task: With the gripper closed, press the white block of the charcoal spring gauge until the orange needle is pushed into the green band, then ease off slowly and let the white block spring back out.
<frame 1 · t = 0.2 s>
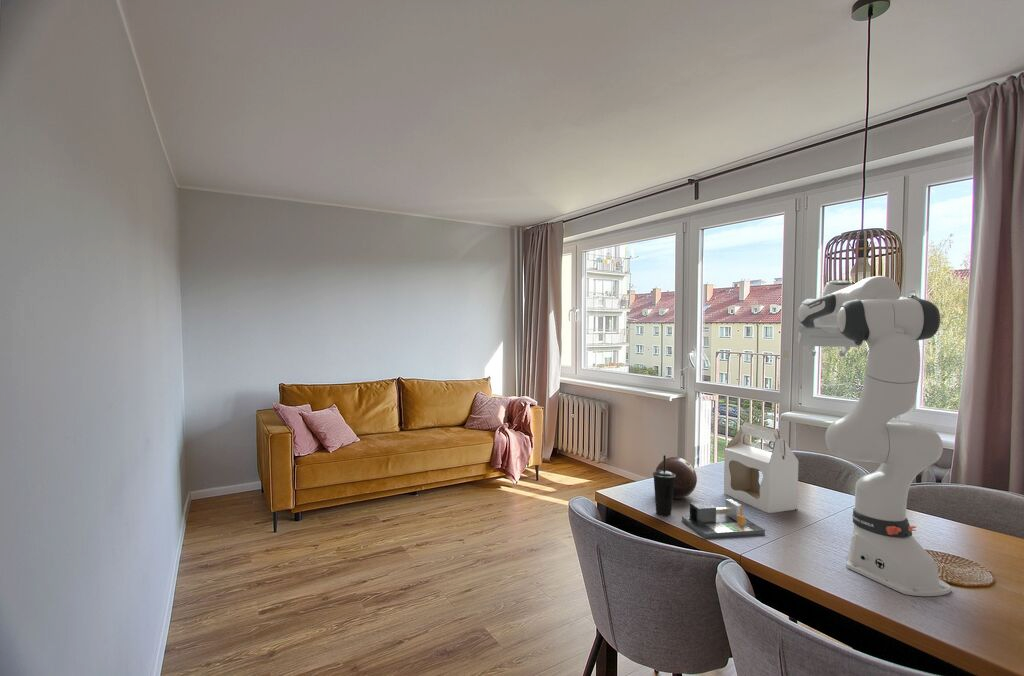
hand: (826, 355, 186), 54 cm above the table, tool tilted 30°, fingers open, 8 cm apart
wooden sphere: (675, 497, 188), on the table
peak needle: (741, 514, 158), point 5 cm above the table, slide at 0.0 cm
gable box: (759, 501, 185), on the table
gauge frame: (722, 527, 160), on the table
drinking cup: (663, 514, 172), on the table
white block: (725, 512, 162), point 4 cm above the table, slide at 0.0 cm
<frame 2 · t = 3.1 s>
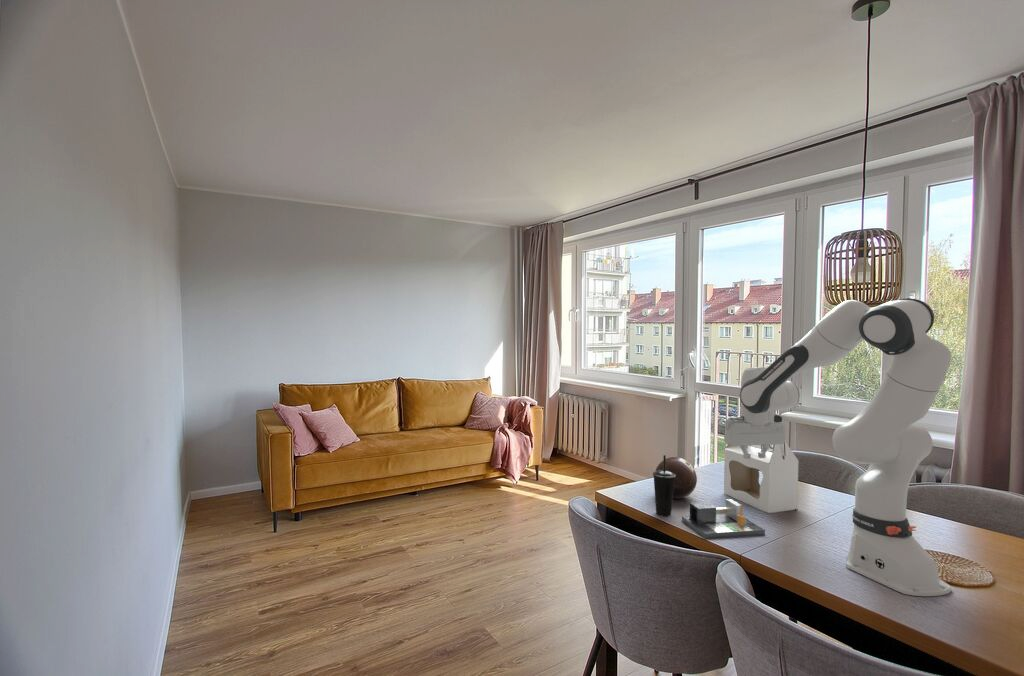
hand: (754, 458, 164), 21 cm above the table, tool pointing down, fingers open, 4 cm apart
nothing on the table moved.
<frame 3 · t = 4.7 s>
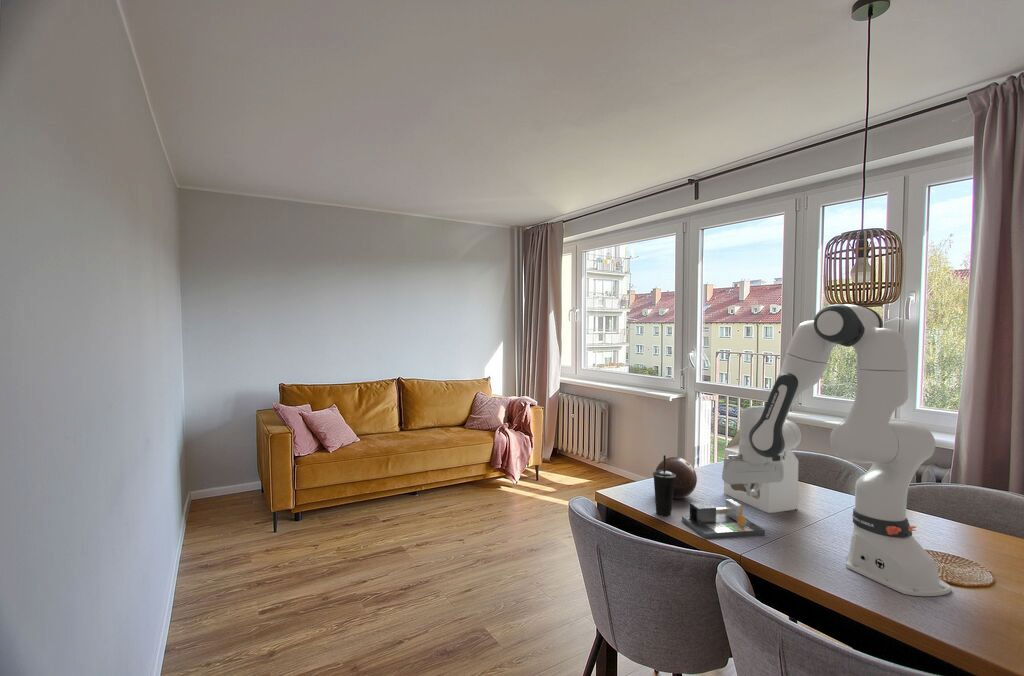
hand: (751, 495, 165), 8 cm above the table, tool pointing down, fingers closed
nothing on the table moved.
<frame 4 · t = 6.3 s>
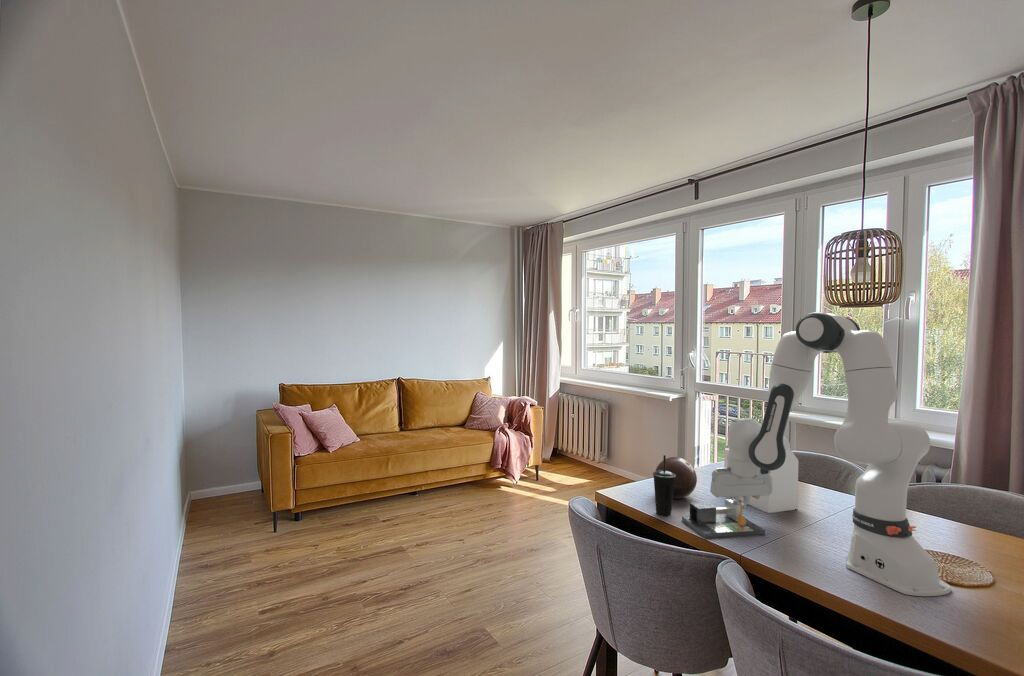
hand: (740, 509, 164), 4 cm above the table, tool pointing down, fingers closed
white block: (724, 512, 162), point 4 cm above the table, slide at 0.2 cm, touching gripper
everything else where it was.
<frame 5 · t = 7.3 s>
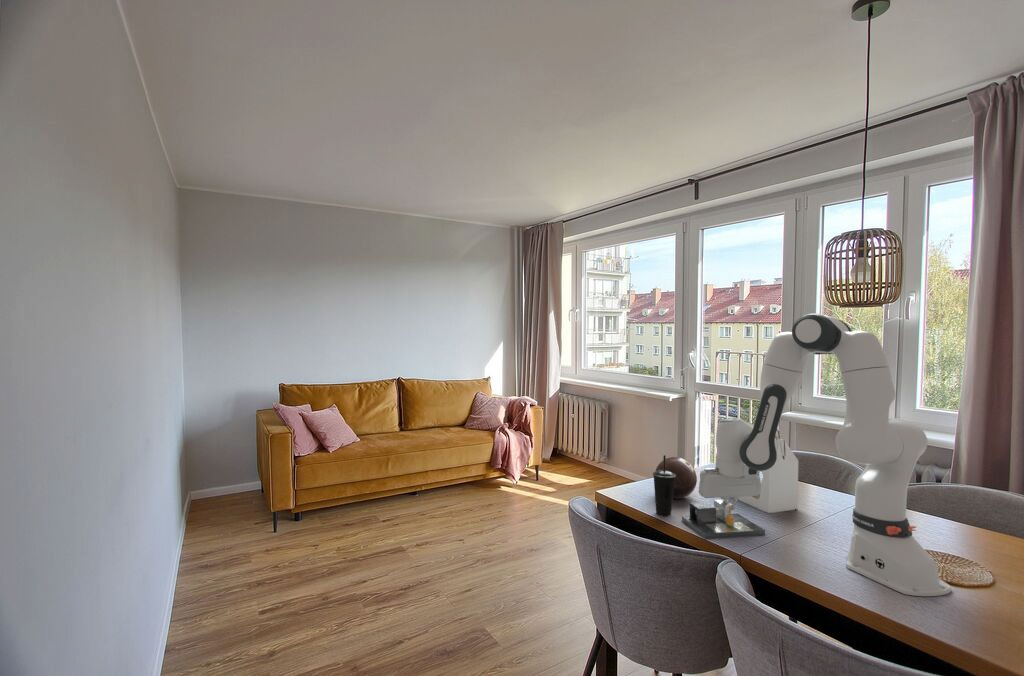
hand: (729, 509, 164), 4 cm above the table, tool pointing down, fingers closed
peak needle: (729, 514, 157), point 5 cm above the table, slide at 3.9 cm, touching white block
white block: (713, 512, 161), point 4 cm above the table, slide at 4.2 cm, touching gripper, peak needle
everything else where it was.
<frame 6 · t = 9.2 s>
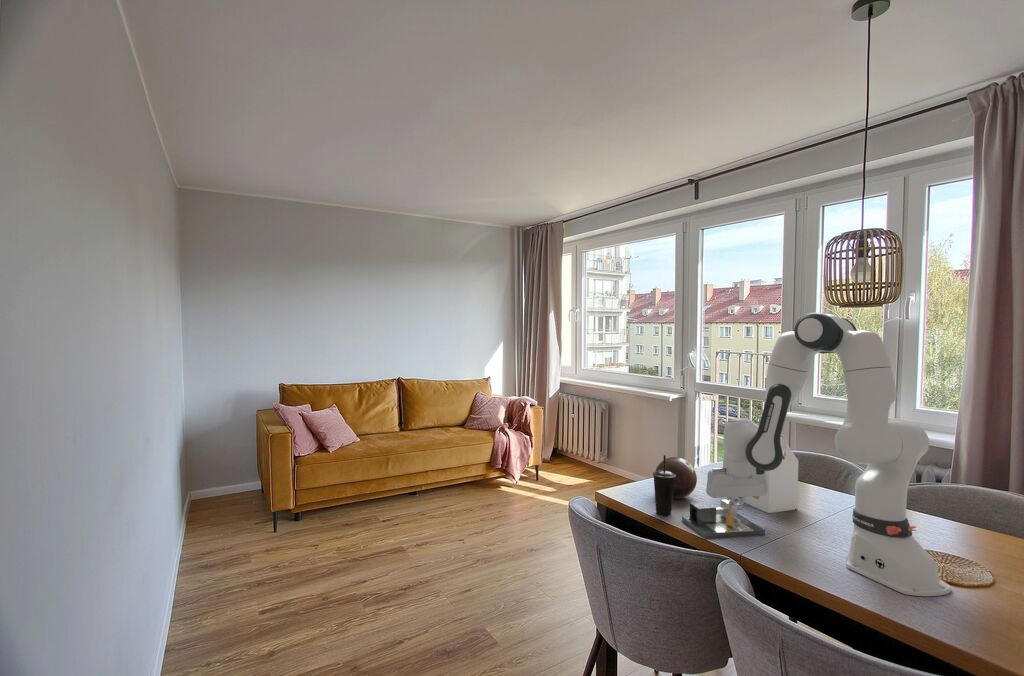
hand: (736, 509, 164), 4 cm above the table, tool pointing down, fingers closed
peak needle: (729, 514, 157), point 5 cm above the table, slide at 4.0 cm
white block: (720, 512, 161), point 4 cm above the table, slide at 1.8 cm, touching gripper
everything else where it was.
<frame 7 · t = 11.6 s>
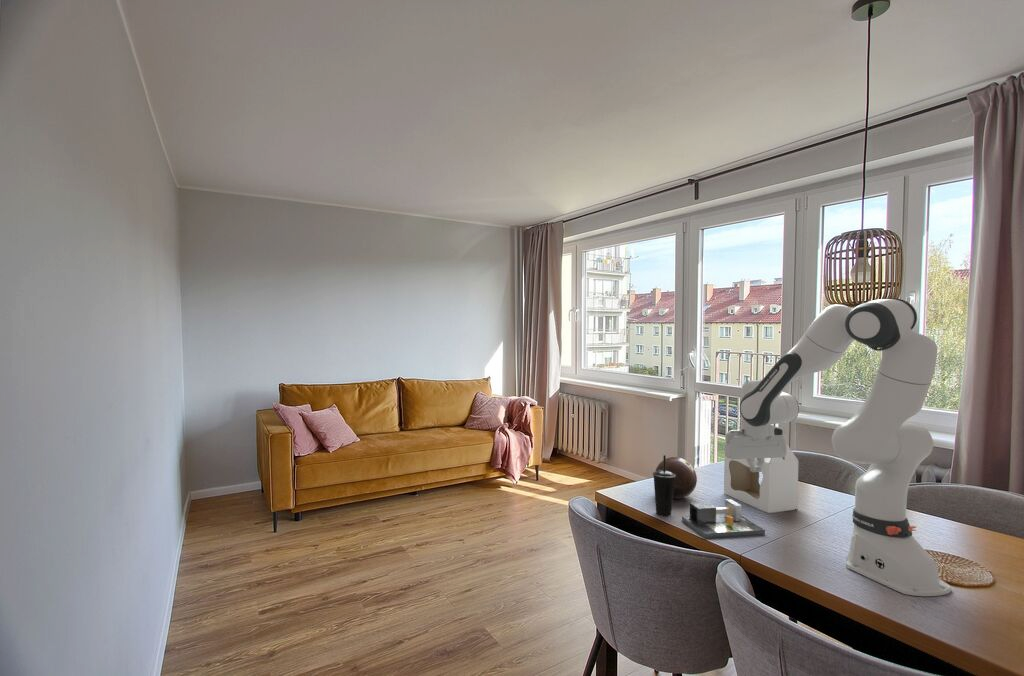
hand: (755, 471, 164), 17 cm above the table, tool pointing down, fingers closed
white block: (724, 512, 162), point 4 cm above the table, slide at 0.2 cm
everything else where it was.
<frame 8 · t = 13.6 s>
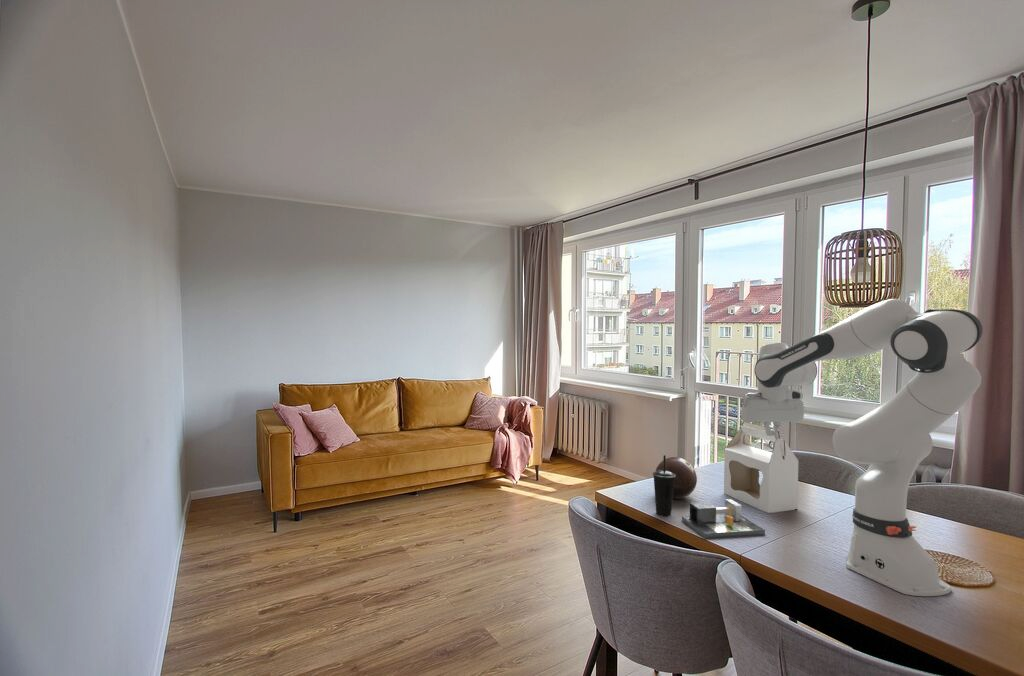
hand: (771, 435, 162), 29 cm above the table, tool pointing down, fingers closed
nothing on the table moved.
at the end: peak needle slide at 4.0 cm; white block slide at 0.2 cm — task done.
